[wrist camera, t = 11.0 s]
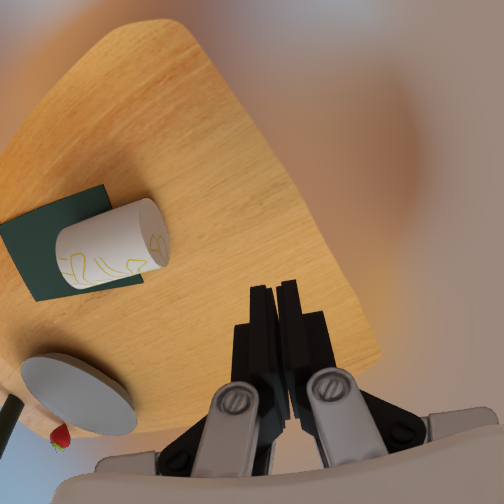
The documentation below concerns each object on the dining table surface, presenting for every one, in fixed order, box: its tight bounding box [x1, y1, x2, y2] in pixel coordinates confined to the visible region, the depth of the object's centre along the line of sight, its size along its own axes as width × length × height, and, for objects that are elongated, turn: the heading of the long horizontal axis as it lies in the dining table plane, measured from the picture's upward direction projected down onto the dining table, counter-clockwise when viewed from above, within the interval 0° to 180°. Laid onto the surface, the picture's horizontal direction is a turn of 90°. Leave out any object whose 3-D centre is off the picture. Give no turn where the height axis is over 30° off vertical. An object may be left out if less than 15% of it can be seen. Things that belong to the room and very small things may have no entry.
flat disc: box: [21, 353, 137, 436], centre depth 56 cm, size 28×28×4 cm
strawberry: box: [50, 424, 70, 451], centre depth 65 cm, size 6×8×10 cm
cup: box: [56, 198, 170, 289], centre depth 36 cm, size 8×8×12 cm
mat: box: [0, 184, 143, 302], centre depth 41 cm, size 15×23×1 cm, turn 103°
